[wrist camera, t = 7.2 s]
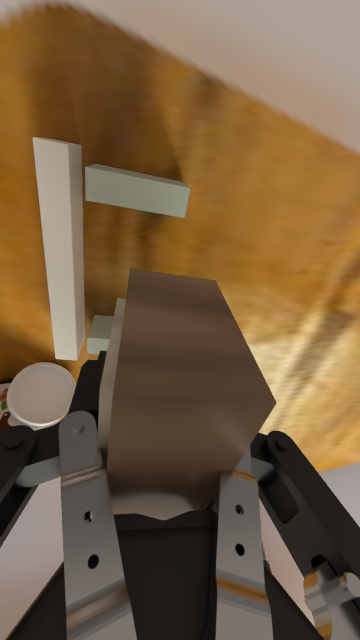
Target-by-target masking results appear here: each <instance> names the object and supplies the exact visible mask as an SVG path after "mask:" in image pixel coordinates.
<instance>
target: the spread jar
mask: <svg viewBox="0 0 360 640" xmlns="http://www.w3.org/2000/svg"><path fill="white" fill-rule="evenodd" d="M75 388H76V382H75V380H74V378H73V376H72V375H71V373H70V372H69V371H68V370H66V369H65V368H63V367H62V366H60V365H57V364H54V363H49V362H42V363H36V364H33V365H30V366H28V367H26V368H24V369H23V370H22V371H20V372H19V373H18V374H17V375H16V376H15V378H14V379H10V380H5V381H1V382H0V433H1V432H2V431H4V430H5V429H7V428H9V427H12V426H16V425H26V426H29V427H31V428H32V429H33V430H34V431H35V430H39V429H42V428H46V427H50V426H53V425H55V424H57V423H58V422H60V420H61V418H62V417H63V416H65V415H66V414H67V413H68V411H69V408H70V404H71V401H72V398H73V394H74V391H75Z"/></svg>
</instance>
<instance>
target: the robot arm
mask: <svg viewBox="0 0 360 640" xmlns="http://www.w3.org/2000/svg"><path fill="white" fill-rule="evenodd" d="M106 355H107V351H102V350H100V353H99V357H98V360H88V361H87V362H86V363H85V364H84V365H83V366H82V367H81V371H80V374H79V377H78V381H77V384H76V388H75V391H74V394H73V398H72V401H71V404H70V408H69V411H68V413H67V415H66V416H65V417H64V418H63V419H62V420H61V421H60V422H58V423H57V424H55V425H53V426H50V427H46V428H42V429H39V430H35V431H34V430H33V429H32V428H31V427H29V426H26V425H16V426H12V427H9V428H7V429H5V430H4V431H2V432H1V433H0V547H1V546H2V544H3V542H4V541H5V539H6V537H7V536H8V534H9V532H10V531H11V529H12V528H13V526H14V524H15V523H16V521H17V519H18V518H19V516H20V515H21V513H22V511H23V510H24V508H25V506H26V505H27V503H28V501H29V500H30V498H31V496H32V495H33V493H34V492H35V490H36V488H37V487H38V485H39V484H41V483H44V482H46V481H49V480H52V479H55V478H58V477H61V506H62V529H63V550H64V551H63V552H64V561H63V563H62V564H61V565H60V567H59V568H58V569H57V571H56V572H55V573H54V575H53V576H52V577H51V579H50V580H49V582H48V583H47V584H46V586H45V587H44V588H43V590H42V591H41V592H40V594H39V595H38V596H37V598H36V599H35V600H34V602H33V603H32V604H31V606H30V607H29V609H28V610H27V611H26V612H25V614H24V615H23V617H22V618H21V619H20V621H19V622H18V623H17V625H16V626H15V627H14V629H13V630H12V632H11V633H10V634H9V635H8V637H7V638H6V639H5V640H360V527H359V526H358V525H357V523H356V522H355V521H354V520H353V518H352V517H351V516H350V514H349V513H348V512H347V510H346V509H345V508H344V506H343V505H342V504H341V503H340V501H339V500H338V499H337V497H336V496H335V495H334V493H333V492H332V491H331V489H330V488H329V487H328V486H327V484H326V483H325V482H324V480H323V479H322V478H321V476H320V475H319V474H318V472H317V471H316V470H315V469H314V467H313V466H312V465H311V463H310V462H309V461H308V459H307V458H306V457H305V456H304V454H303V453H302V452H301V450H300V449H299V448H298V446H297V445H296V444H295V442H294V441H293V440H292V439H291V438H290V437H289V436H288V435H287V434H285V433H283V432H280V431H271V432H270V433H269V434H268V435H264V434H261V433H257V435H256V436H255V438H254V439H253V441H252V443H251V444H250V446H249V447H248V449H247V451H246V452H245V454H244V455H243V457H242V459H241V460H240V462H239V463H238V465H237V466H236V468H235V470H234V471H233V472H231V471H220V473H219V475H218V476H217V478H216V480H215V482H214V483H213V485H212V487H211V489H210V490H209V492H208V494H207V496H206V497H205V499H204V501H203V503H202V504H201V506H200V508H199V510H195V511H188V512H185V513H183V514H180V515H178V516H175V517H172V518H170V519H167V520H160V519H156V518H152V517H149V516H145V515H141V514H138V513H131V514H113V509H112V503H111V498H110V492H109V486H108V481H107V475H106V471H105V468H104V467H103V463H102V457H101V451H100V448H97V444H98V419H99V393H100V385H101V380H102V375H103V370H104V365H105V360H106ZM259 498H260V500H261V502H262V503H263V505H264V507H265V509H266V510H267V512H268V514H269V516H270V518H271V520H272V521H273V523H274V525H275V527H276V528H277V530H278V532H279V534H280V535H281V537H282V539H283V541H284V543H285V545H286V546H287V548H288V550H289V552H290V553H291V555H292V557H293V559H294V561H295V562H296V564H297V566H298V568H299V570H300V571H301V573H302V575H303V577H304V593H305V602H306V605H307V607H308V608H309V610H310V611H311V612H312V615H313V618H314V623H315V627H314V626H313V625H312V623H311V622H310V621H309V620H308V619H307V617H306V616H305V615H304V613H303V612H302V611H301V610H300V608H299V607H298V606H297V605H296V603H295V602H294V601H293V600H292V598H291V597H290V596H289V595H288V593H287V592H286V591H285V590H284V588H283V587H282V586H281V585H280V583H279V582H278V581H277V580H276V578H275V577H274V576H273V575H272V573H271V569H270V566H269V563H268V559H267V556H266V552H265V549H264V545H263V542H262V537H261V522H260V508H259Z"/></svg>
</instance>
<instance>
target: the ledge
mask: <svg viewBox="0 0 360 640" xmlns="http://www.w3.org/2000/svg"><path fill="white" fill-rule="evenodd" d="M32 138H33V147H34V157H35V167H36V176H37V186H38V195H39V205H40V214H41V224H42V233H43V243H44V252H45V262H46V272H47V281H48V291H49V300H50V310H51V319H52V329H53V338H54V348H55V357H56V359H63V360H77V359H78V356H79V353H80V350H81V347H82V344H83V341H84V338H85V300H84V247H83V193H82V145H79V144H74V143H69V142H65V141H60V140H56V139H49V138H38V137H32ZM85 190H86V201H92V202H98V203H103V204H109V205H114V206H120V207H126V208H131V209H137V210H142V211H148V212H154V213H159V214H165V215H170V216H176V217H182V218H185V215H186V209H187V204H188V199H189V194H190V187H189V186H188V185H186V184H185V183H184V182H182V181H177V180H172V179H168V178H163V177H158V176H153V175H148V174H143V173H139V172H134V171H129V170H124V169H119V168H114V167H110V166H105V165H100V164H93V165H90V166H86V167H85ZM113 319H114V316H105V315H94V318H93V321H92V324H91V328H90V331H89V334H88V337H87V348H88V354H99V353H100V350H102V351H107V349H108V344H109V339H110V334H111V329H112V324H113Z"/></svg>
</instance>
